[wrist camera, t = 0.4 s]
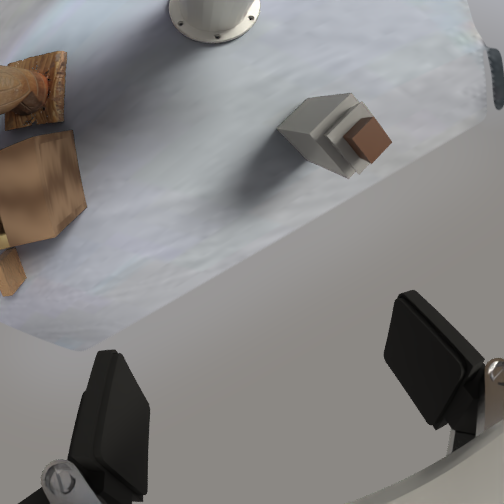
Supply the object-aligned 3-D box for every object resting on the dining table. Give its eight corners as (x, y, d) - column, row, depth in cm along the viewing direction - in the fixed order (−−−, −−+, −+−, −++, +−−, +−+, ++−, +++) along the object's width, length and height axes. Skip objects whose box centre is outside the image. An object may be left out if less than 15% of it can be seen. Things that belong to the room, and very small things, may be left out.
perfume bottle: (336, 130, 42) (410, 144, 26) (307, 160, 43) (369, 189, 27) (307, 98, 39) (374, 91, 23) (276, 128, 40) (327, 137, 24)
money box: (-19, 164, 32) (-63, 182, 22) (72, 129, 35) (33, 136, 24) (-4, 229, 38) (-41, 260, 27) (87, 207, 40) (55, 237, 29)
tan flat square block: (6, 249, 39) (-11, 265, 34) (15, 247, 40) (-1, 263, 34) (17, 279, 42) (3, 296, 37) (26, 277, 42) (12, 295, 37)
